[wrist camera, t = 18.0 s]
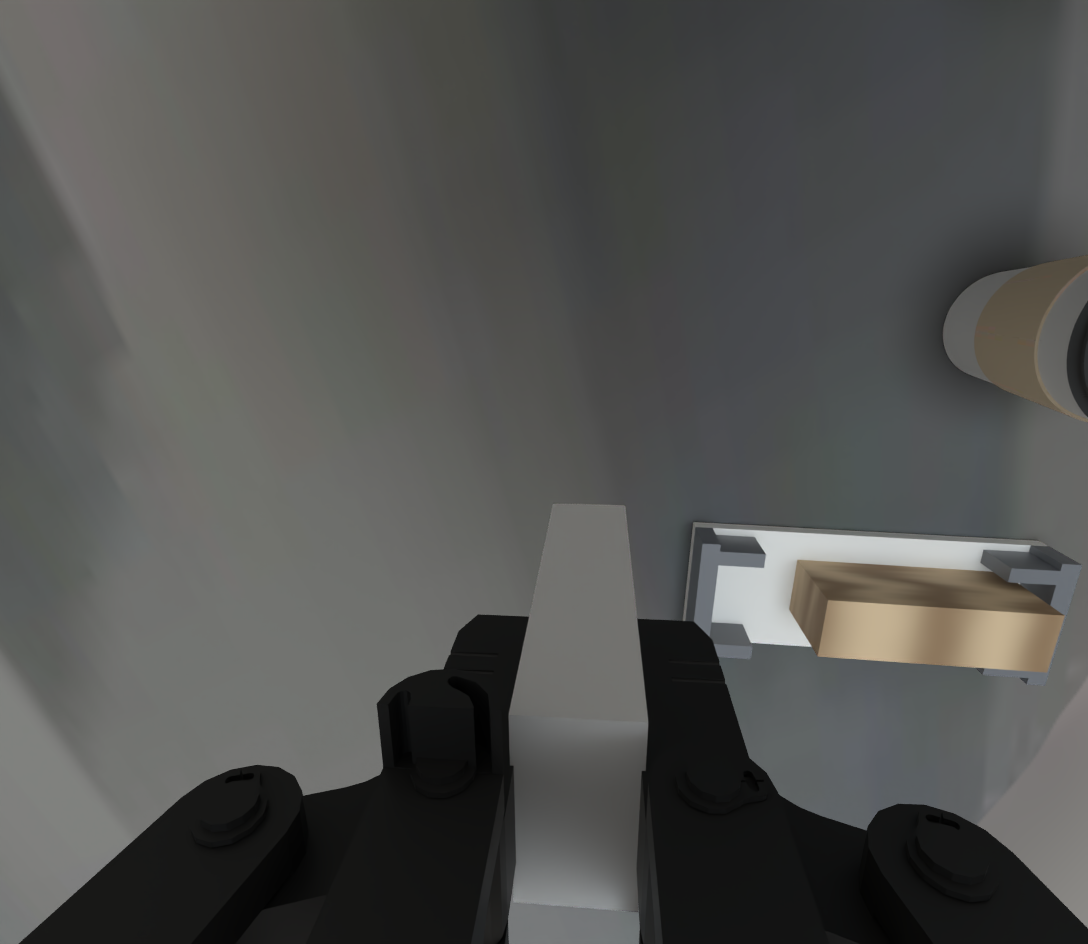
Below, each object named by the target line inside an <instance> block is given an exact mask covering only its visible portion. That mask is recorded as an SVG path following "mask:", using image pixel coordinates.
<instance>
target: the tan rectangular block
mask: <svg viewBox="0 0 1088 944" xmlns="http://www.w3.org/2000/svg"><path fill="white" fill-rule="evenodd" d="M789 610H790V612H791V614H792V615H793V617H794V618H795V620H796V622H797V623H798V625H799V627H800V628H801V630H802V632H803V633H804V635H805V636H806V638H807V640H808V641H809V643H810V645H811V646H812V648H813V649H814V651H815V653H816V654H817V656H820V657H834V658H848V659H862V660H876V661H890V662H904V663H918V664H933V665H947V666H961V667H975V668H989V669H1003V670H1017V671H1031V672H1045V673H1047V671H1048V668H1049V665H1050V662H1051V658H1052V655H1053V652H1054V649H1055V646H1056V642H1057V639H1058V636H1059V633H1060V630H1061V626H1062V623H1063V620H1064V617H1065V615H1063V614H1062V613H1060V612H1059V611H1057V610H1056V609H1054V608H1053V607H1052V606H1050V605H1049V604H1047V603H1046V602H1044V601H1043V600H1041V599H1040V598H1039V597H1037V596H1036V595H1034V594H1033V593H1031V592H1030V591H1028V590H1027V589H1026V588H1024V587H1023V586H1021V585H1020V584H1018V583H1011V582H1007V581H1005V580H1004V579H1002V578H1001V577H1000V576H998V575H997V574H995V573H994V572H991V571H975V570H959V569H943V568H926V567H910V566H894V565H877V564H861V563H845V562H829V561H812V560H797V565H796V571H795V577H794V583H793V589H792V595H791V601H790V607H789Z"/></svg>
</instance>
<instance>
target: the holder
mask: <svg viewBox="0 0 1088 944" xmlns="http://www.w3.org/2000/svg"><path fill="white" fill-rule="evenodd" d="M797 560H812V561H829V562H845V563H861V564H877V565H894V566H910V567H926V568H943V569H959V570H975V571H991V572H994V573H995V574H997V575H998V576H1000V577H1001V578H1002V579H1004V580H1005V581H1007V582H1011V583H1018V584H1020V585H1021V586H1023V587H1024V588H1026V589H1027V590H1028V591H1030V592H1031V593H1033V594H1034V595H1036V596H1037V597H1039V598H1040V599H1041V600H1043V601H1044V602H1046V603H1047V604H1049V605H1050V606H1052V607H1053V608H1054V609H1056V610H1057V611H1059V612H1060V613H1062V614H1063V615H1065V617H1064V620H1063V623H1062V626H1061V630H1060V633H1059V636H1058V639H1057V642H1056V646H1055V649H1054V652H1053V655H1052V658H1051V662H1050V665H1049V668H1048V671H1047V673H1045V672H1031V671H1017V670H1003V669H989V668H976V669H977V670H978V671H979V672H980V673H981V674H982V675H991V676H1006V677H1019V678H1020V679H1021V680H1023V681H1024V682H1025V683H1026V684H1029V685H1043V686H1045V685H1046V681H1047V678H1048V675H1049V672H1050V668H1051V665H1052V662H1053V659H1054V655H1055V652H1056V649H1057V646H1058V642H1059V639H1060V636H1061V633H1062V629H1063V626H1064V623H1065V620H1066V616H1067V613H1068V610H1069V606H1070V603H1071V600H1072V597H1073V593H1074V590H1075V587H1076V584H1077V580H1078V577H1079V574H1080V571H1081V567H1082V565H1081V564H1079V563H1078V562H1076V561H1074V560H1072V559H1070V558H1069V557H1067V556H1065V555H1063V554H1062V553H1060V552H1058V551H1056V550H1054V549H1053V548H1051V547H1049V546H1047V545H1046V544H1044V543H1042V542H1040V541H1035V540H1017V539H998V538H980V537H961V536H943V535H925V534H906V533H888V532H869V531H851V530H832V529H814V528H796V527H777V526H759V525H740V524H722V523H704V522H693V529H692V538H691V548H690V557H689V566H688V576H687V585H686V595H685V604H684V613H683V621H694V622H695V623H696V624H697V625H698V626H699V627H700V628H701V629H702V630H703V631H704V632H705V633H706V634H707V635H708V636H709V637H710V638H711V639H712V640H713V643H714V646H715V649H716V652H717V656H718V657H726V658H741V659H751V654H752V647H753V646H752V644H751V643H764V644H779V645H794V646H809V647H812V646H811V645H810V643H809V641H808V640H807V638H806V636H805V635H804V633H803V632H802V630H801V628H800V627H799V625H798V623H797V622H796V620H795V618H794V617H793V615H792V614H791V612H790V610H789V607H790V601H791V595H792V589H793V583H794V577H795V571H796V565H797Z"/></svg>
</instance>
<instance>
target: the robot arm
mask: <svg viewBox="0 0 1088 944" xmlns="http://www.w3.org/2000/svg"><path fill="white" fill-rule="evenodd" d="M377 710H378V720H379V729H380V739H381V749H382V758H383V770H382V772H381V774H380V775H379V776H376V777H374V778H372V779H370V780H368V781H366V782H363V783H359V784H356V785H352V786H349V787H345V788H340V789H335V790H330V791H325V792H320V793H315V794H310V795H305V796H303V794H302V790H301V788H300V786H299V784H298V782H297V780H296V778H295V776H294V775H292V774H290V773H288V772H286V771H285V770H283V769H281V768H279V767H273V766H262V765H254V766H248V767H243V768H238V769H232V770H229V771H227V772H225V773H222V774H220V775H218V776H215V777H213V778H211V779H208V780H206V781H204V782H203V783H201V784H200V785H199V786H197V787H196V788H194V789H193V790H192V791H190V792H189V793H187V794H186V795H185V796H183V797H182V798H180V799H179V800H178V801H177V802H176V803H175V804H174V805H173V806H172V807H170V808H169V809H168V810H167V811H166V812H165V813H164V814H163V815H162V816H160V817H159V818H158V819H157V820H156V821H155V822H154V823H153V824H152V825H150V826H149V827H148V828H147V829H146V830H145V831H144V832H143V833H141V834H140V835H139V836H138V837H137V838H136V839H135V840H134V841H133V842H131V843H130V844H129V845H128V846H127V847H126V848H125V849H124V850H123V851H121V852H120V853H119V854H118V855H117V856H116V857H115V858H114V859H113V860H111V861H110V862H109V863H108V864H107V865H106V866H105V867H104V868H103V869H101V870H100V871H99V872H98V873H97V874H96V875H95V876H94V877H92V878H91V879H90V880H89V881H88V882H87V883H86V884H85V885H84V886H82V887H81V888H80V889H79V890H78V891H77V892H76V893H75V894H74V895H72V896H71V897H70V898H69V899H68V900H67V901H66V902H65V903H64V904H62V905H61V906H60V907H59V908H58V909H57V910H56V911H55V912H54V913H52V914H51V915H50V916H49V917H48V918H47V919H46V920H45V921H43V922H42V923H41V924H40V925H39V926H38V927H37V928H36V929H35V930H33V931H32V932H31V933H30V934H29V935H28V936H27V937H26V938H25V939H23V940H22V941H21V942H20V943H19V944H509V940H508V915H509V908H510V901H511V894H512V887H513V902H519V903H531V904H543V905H555V906H568V907H580V908H592V909H604V910H616V911H629V912H638V903H639V920H640V936H639V944H1088V928H1087V927H1086V926H1085V925H1084V924H1083V923H1082V922H1081V921H1080V920H1079V919H1078V918H1077V917H1076V916H1075V915H1074V914H1073V913H1072V912H1071V911H1070V910H1069V909H1068V908H1067V907H1066V906H1065V905H1064V904H1063V903H1062V902H1061V901H1060V900H1059V899H1058V898H1057V897H1056V896H1055V895H1054V894H1053V893H1052V892H1051V891H1050V890H1049V889H1048V888H1047V887H1046V886H1045V885H1044V884H1043V883H1042V882H1041V881H1040V880H1039V879H1038V878H1037V877H1036V876H1035V875H1034V874H1033V873H1032V872H1031V871H1030V870H1029V868H1028V867H1026V865H1025V864H1024V863H1023V862H1021V860H1020V859H1019V858H1018V857H1017V856H1016V855H1014V853H1013V852H1011V851H1010V850H1009V849H1008V848H1007V847H1005V846H1004V845H1003V844H1002V843H1000V842H999V841H998V840H997V839H996V838H994V837H993V836H992V835H991V834H989V833H988V832H987V831H986V830H984V829H982V828H980V827H978V826H977V825H975V824H973V823H971V822H969V821H967V820H965V819H963V818H962V817H960V816H958V815H956V814H954V813H950V812H947V811H944V810H940V809H937V808H934V807H930V806H927V805H916V804H896V805H894V806H891V807H888V808H886V809H883V810H880V811H878V812H877V814H876V815H875V817H874V818H873V820H872V821H871V822H870V824H869V825H868V828H867V831H866V830H863V829H860V828H857V827H853V826H850V825H847V824H844V823H841V822H838V821H835V820H832V819H829V818H825V817H822V816H819V815H817V814H815V813H812V812H810V811H807V810H805V809H802V808H800V807H798V806H796V805H795V804H793V803H791V802H790V801H788V800H786V799H785V798H783V797H781V796H780V795H779V794H778V792H777V790H776V788H775V787H774V785H773V783H772V781H771V780H770V778H769V776H768V775H767V773H766V772H765V771H764V770H763V769H761V768H760V767H759V766H758V765H757V764H756V763H754V762H753V761H752V760H751V759H750V758H749V756H748V753H747V749H746V746H745V743H744V740H743V736H742V733H741V730H740V727H739V724H738V720H737V717H736V714H735V711H734V707H733V704H732V701H731V698H730V694H729V691H728V688H727V685H726V684H725V678H724V675H723V672H722V669H721V666H719V659H718V656H717V652H716V649H715V646H714V643H713V640H712V639H711V638H710V637H709V636H708V635H707V634H706V633H705V632H704V631H703V630H702V629H701V628H700V627H699V626H698V625H697V624H696V623H695V622H694V621H673V620H649V619H637V612H636V603H635V594H634V584H633V575H632V566H631V556H630V547H629V538H628V528H627V519H626V510H625V505H594V504H556V503H553V506H552V511H551V516H550V520H549V525H548V530H547V535H546V539H545V544H544V549H543V554H542V558H541V563H540V568H539V573H538V577H537V582H536V587H535V592H534V596H533V601H532V606H531V611H530V615H529V617H523V616H500V615H477V616H476V617H475V618H473V619H472V620H471V621H470V622H469V623H468V624H466V625H465V626H464V627H463V628H462V629H461V630H460V631H459V632H458V634H457V637H456V639H455V642H454V644H453V647H452V649H451V655H449V657H448V659H447V662H446V664H445V667H444V669H443V670H430V671H427V672H423V673H420V674H417V675H414V676H410V677H408V678H406V679H404V680H403V681H401V682H399V683H398V684H396V685H395V686H393V687H391V688H390V689H389V690H388V691H387V692H386V693H385V695H384V696H383V697H382V698H381V699H380V701H379V702H378V703H377Z"/></svg>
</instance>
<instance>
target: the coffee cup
mask: <svg viewBox="0 0 1088 944" xmlns="http://www.w3.org/2000/svg"><path fill="white" fill-rule="evenodd" d="M943 343H944V347H945V350H946V353H947V355H948V357H949V359H950V360H951V361H952V363H953V364H954V365H955V366H956V367H957V368H959V369H960V370H961V371H963V372H965V373H967V374H969V375H971V376H974V377H977V378H979V379H982V380H985V381H987V382H990V383H993V384H995V385H996V386H998V387H999V388H1001V389H1003V390H1005V391H1008V392H1010V393H1013V394H1015V395H1018V396H1020V397H1023V398H1025V399H1028V400H1030V401H1033V402H1035V403H1038V404H1040V405H1043V406H1045V407H1048V408H1051V409H1053V410H1056V411H1058V412H1061V413H1063V414H1066V415H1068V416H1071V417H1073V418H1076V419H1078V420H1081V421H1085V422H1088V255H1085V256H1079V257H1074V258H1069V259H1063V260H1058V261H1052V262H1047V263H1043V264H1039V265H1036V266H1033V267H1028V268H1022V269H1016V270H1010V271H1004V272H998V273H994V274H991V275H988V276H986V277H984V278H981V279H980V280H978V281H976V282H975V283H973V284H972V285H970V286H969V287H968V288H966V289H965V290H964V291H963V292H962V293H961V294H960V295H959V296H958V298H957V299H956V300H955V301H954V303H953V304H952V306H951V308H950V310H949V312H948V314H947V316H946V319H945V323H944V328H943Z"/></svg>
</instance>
